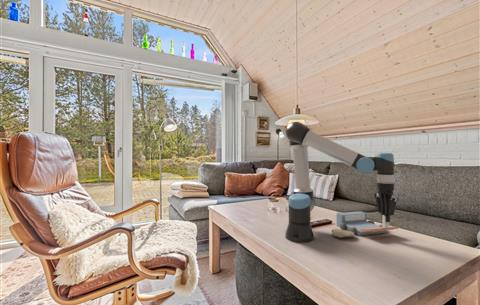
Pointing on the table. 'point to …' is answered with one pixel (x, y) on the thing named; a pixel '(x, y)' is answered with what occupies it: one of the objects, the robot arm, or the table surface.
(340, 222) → the truck bed
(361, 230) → the tailgate
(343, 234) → the seashell
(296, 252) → the table surface
